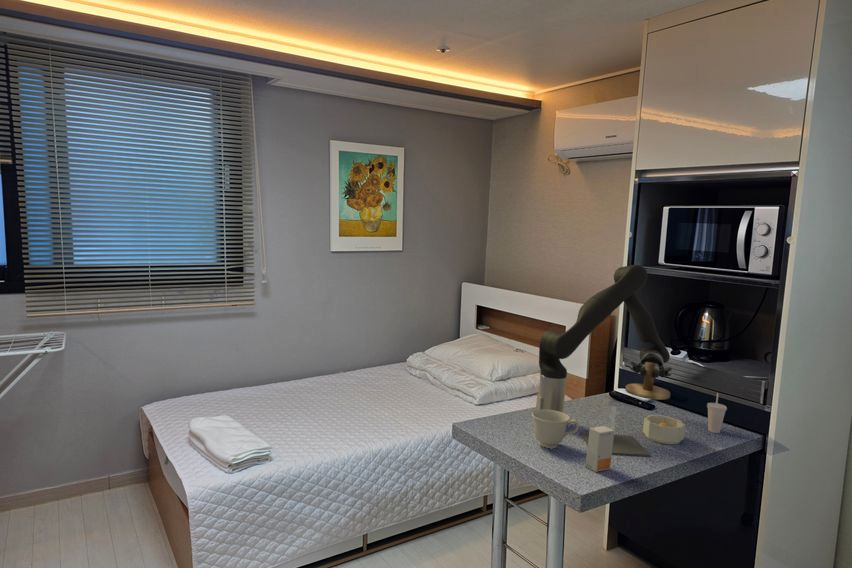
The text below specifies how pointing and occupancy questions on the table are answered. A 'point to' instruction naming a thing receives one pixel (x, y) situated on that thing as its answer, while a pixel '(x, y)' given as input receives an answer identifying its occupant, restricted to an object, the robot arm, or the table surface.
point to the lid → (648, 386)
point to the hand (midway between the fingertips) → (649, 374)
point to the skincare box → (599, 448)
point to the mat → (624, 445)
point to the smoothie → (715, 416)
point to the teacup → (551, 427)
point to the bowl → (663, 429)
